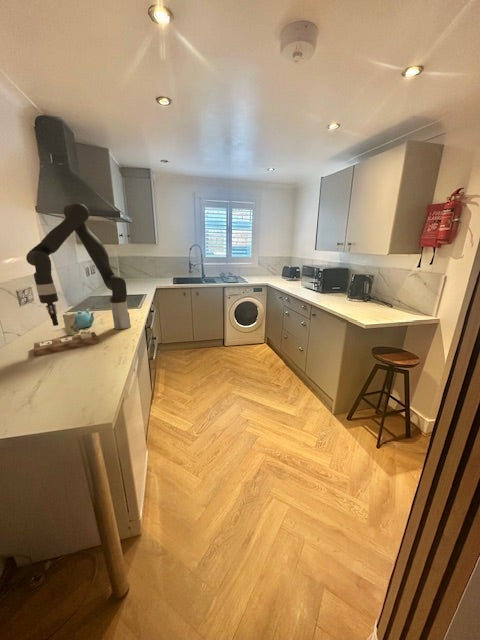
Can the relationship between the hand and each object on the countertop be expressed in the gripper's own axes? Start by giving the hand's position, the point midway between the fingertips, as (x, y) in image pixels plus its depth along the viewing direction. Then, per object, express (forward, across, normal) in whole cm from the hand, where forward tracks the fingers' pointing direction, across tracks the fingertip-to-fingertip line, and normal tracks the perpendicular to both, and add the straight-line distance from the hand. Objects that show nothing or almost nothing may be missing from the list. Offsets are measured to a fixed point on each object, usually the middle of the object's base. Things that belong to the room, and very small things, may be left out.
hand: (55, 325), depth 131 cm
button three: (+11, 0, -12) cm, 16 cm away
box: (+13, +18, -7) cm, 23 cm away
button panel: (+12, 0, -3) cm, 13 cm away
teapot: (+13, +33, -14) cm, 38 cm away
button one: (+12, 0, -3) cm, 13 cm away
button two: (+12, -1, +6) cm, 13 cm away
